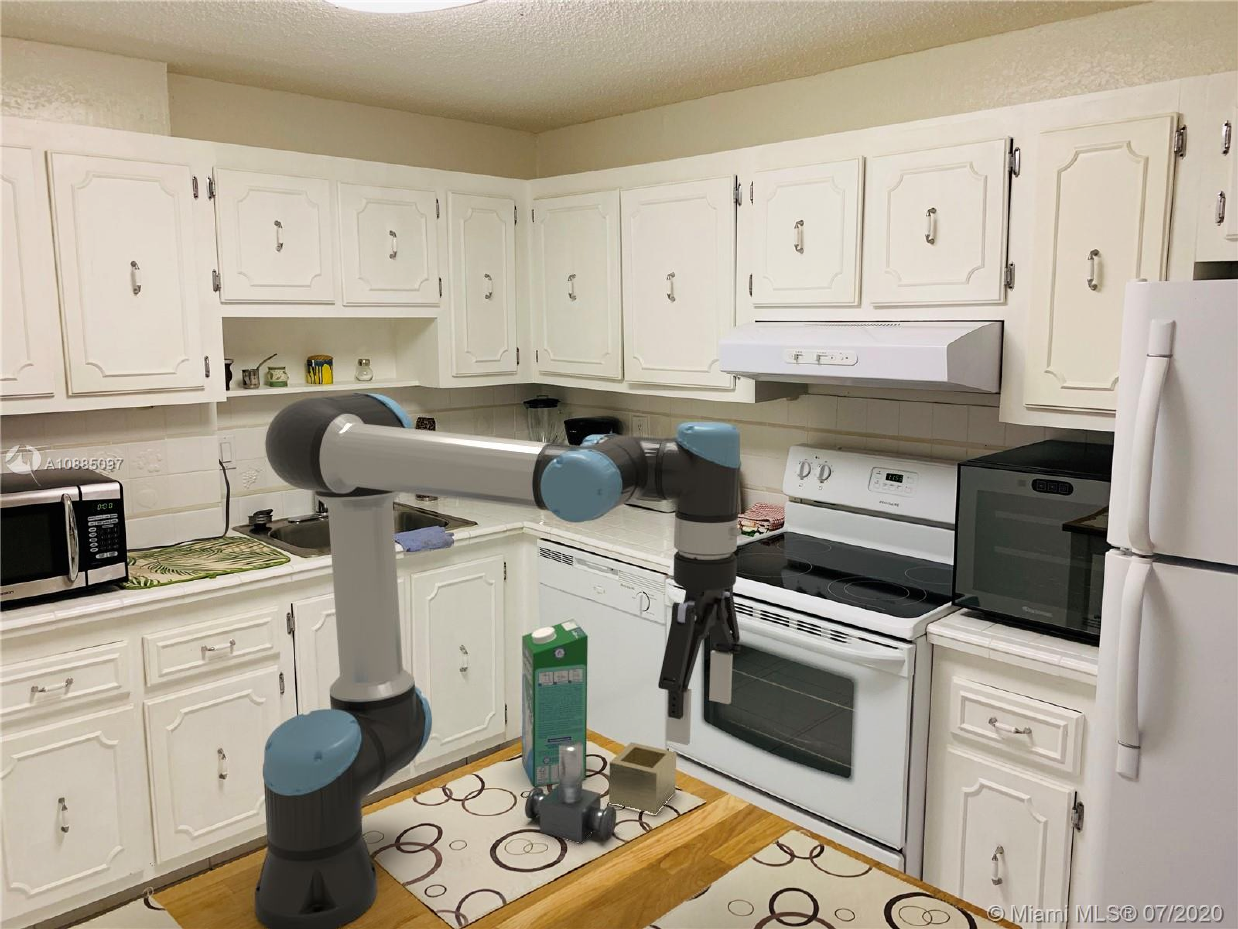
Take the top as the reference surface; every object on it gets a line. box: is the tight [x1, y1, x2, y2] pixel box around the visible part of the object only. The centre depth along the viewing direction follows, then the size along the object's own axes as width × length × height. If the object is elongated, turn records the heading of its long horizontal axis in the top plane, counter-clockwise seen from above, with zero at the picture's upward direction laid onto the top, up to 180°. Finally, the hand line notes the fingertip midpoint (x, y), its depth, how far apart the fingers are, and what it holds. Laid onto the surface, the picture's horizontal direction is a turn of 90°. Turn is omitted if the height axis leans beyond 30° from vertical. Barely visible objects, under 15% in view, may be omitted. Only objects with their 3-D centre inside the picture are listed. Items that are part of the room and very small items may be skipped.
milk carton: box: [521, 619, 589, 788], centre depth 153 cm, size 9×9×25 cm
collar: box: [608, 742, 677, 814], centre depth 146 cm, size 8×8×7 cm
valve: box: [524, 741, 617, 844], centre depth 136 cm, size 13×6×13 cm, turn 64°
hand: (700, 720), depth 113 cm, fingers open, 13 cm apart
